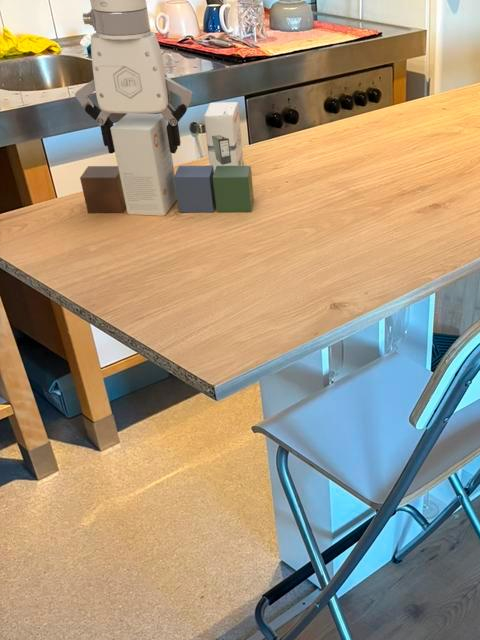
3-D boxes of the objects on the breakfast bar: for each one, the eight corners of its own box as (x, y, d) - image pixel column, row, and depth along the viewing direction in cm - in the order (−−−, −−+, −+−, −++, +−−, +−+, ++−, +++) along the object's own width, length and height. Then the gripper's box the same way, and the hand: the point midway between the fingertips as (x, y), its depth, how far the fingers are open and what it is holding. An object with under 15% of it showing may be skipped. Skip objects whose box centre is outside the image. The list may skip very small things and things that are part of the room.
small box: (142, 196, 135) (126, 112, 126) (179, 198, 134) (166, 113, 126) (126, 214, 129) (109, 127, 120) (165, 216, 128) (150, 128, 120)
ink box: (217, 172, 144) (209, 100, 137) (245, 172, 145) (238, 100, 137) (212, 189, 138) (202, 114, 130) (241, 189, 138) (233, 115, 130)
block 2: (179, 212, 130) (173, 177, 126) (183, 200, 134) (178, 165, 130) (213, 212, 130) (209, 177, 126) (217, 200, 134) (213, 165, 131)
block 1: (87, 213, 129) (79, 177, 125) (95, 200, 133) (87, 166, 130) (122, 212, 129) (115, 177, 126) (129, 200, 133) (122, 165, 130)
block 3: (216, 212, 130) (212, 177, 126) (220, 200, 134) (216, 165, 131) (251, 212, 130) (248, 176, 127) (253, 199, 134) (250, 165, 131)
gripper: (52, 27, 112) (81, 158, 123) (180, 28, 112) (197, 158, 124) (66, 17, 117) (92, 143, 128) (187, 18, 118) (203, 143, 129)
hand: (143, 150), depth 126 cm, fingers open, 9 cm apart
